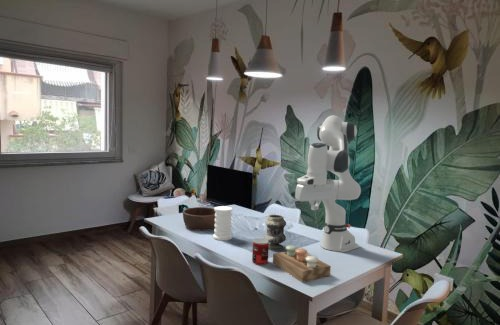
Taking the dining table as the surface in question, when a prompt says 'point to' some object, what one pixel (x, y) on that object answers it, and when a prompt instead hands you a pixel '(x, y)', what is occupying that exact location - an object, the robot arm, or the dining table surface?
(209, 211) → the wooden bowl
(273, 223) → the apothecary jar
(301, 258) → the peach mushroom knob
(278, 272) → the dining table surface
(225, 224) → the decorative container
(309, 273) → the walnut board
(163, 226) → the dining table surface
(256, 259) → the canned food
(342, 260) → the dining table surface
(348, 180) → the robot arm
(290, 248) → the sage plunger
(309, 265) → the cream plunger
